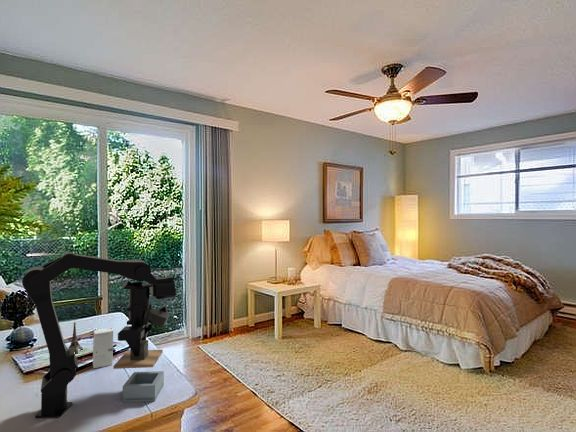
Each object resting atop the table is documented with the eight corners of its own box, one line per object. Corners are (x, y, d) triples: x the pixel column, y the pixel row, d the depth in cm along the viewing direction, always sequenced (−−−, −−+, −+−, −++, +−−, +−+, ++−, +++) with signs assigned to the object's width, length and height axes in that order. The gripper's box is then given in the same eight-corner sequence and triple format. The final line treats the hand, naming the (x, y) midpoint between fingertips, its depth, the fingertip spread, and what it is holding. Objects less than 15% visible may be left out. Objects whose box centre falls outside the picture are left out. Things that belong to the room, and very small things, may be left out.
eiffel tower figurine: (91, 345, 142) (92, 312, 142) (100, 352, 135) (100, 318, 135) (48, 355, 131) (48, 320, 131) (54, 364, 124) (55, 326, 124)
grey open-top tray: (154, 401, 100) (155, 385, 100) (122, 402, 99) (122, 386, 99) (163, 385, 109) (163, 371, 109) (134, 386, 108) (134, 371, 108)
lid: (153, 367, 101) (153, 349, 101) (113, 368, 100) (113, 350, 100) (162, 352, 112) (162, 335, 112) (126, 353, 110) (126, 336, 110)
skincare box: (93, 369, 120) (93, 333, 119) (92, 364, 123) (92, 330, 123) (113, 364, 123) (113, 330, 123) (111, 360, 127) (112, 327, 127)
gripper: (158, 310, 97) (158, 365, 97) (173, 294, 116) (173, 341, 116) (117, 311, 96) (116, 367, 96) (138, 294, 114) (138, 342, 115)
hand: (139, 353), depth 106 cm, fingers closed on lid, 4 cm apart
